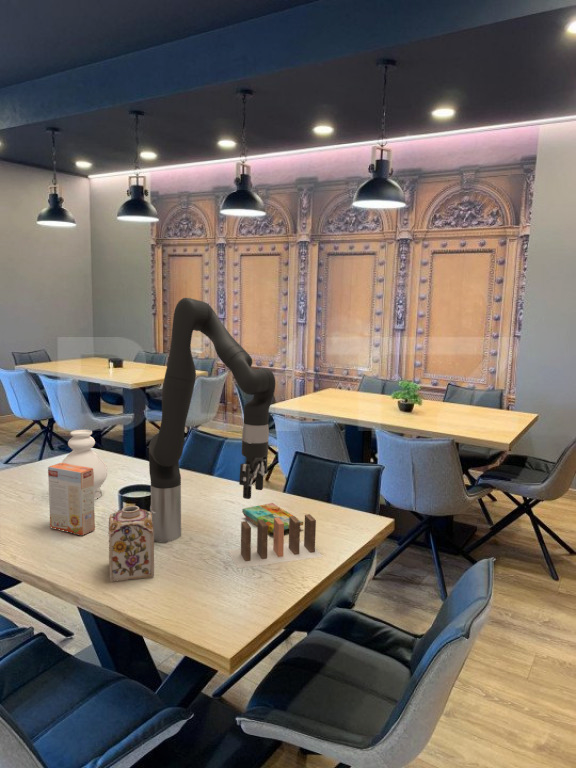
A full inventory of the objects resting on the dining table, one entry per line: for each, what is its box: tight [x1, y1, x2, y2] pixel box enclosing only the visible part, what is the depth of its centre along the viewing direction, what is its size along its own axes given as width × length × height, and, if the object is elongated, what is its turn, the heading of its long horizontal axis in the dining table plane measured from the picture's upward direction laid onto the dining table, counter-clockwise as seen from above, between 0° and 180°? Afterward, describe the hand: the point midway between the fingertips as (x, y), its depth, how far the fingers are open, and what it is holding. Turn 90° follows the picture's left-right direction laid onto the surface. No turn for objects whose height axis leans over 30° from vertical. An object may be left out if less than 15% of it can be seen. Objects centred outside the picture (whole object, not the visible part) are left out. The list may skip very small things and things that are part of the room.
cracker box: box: [47, 462, 96, 536], centre depth 181 cm, size 14×6×21 cm, turn 65°
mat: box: [227, 540, 324, 569], centre depth 167 cm, size 26×12×1 cm, turn 109°
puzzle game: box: [241, 502, 304, 534], centre depth 189 cm, size 12×5×20 cm
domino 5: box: [303, 513, 317, 553], centre depth 170 cm, size 2×5×10 cm, turn 19°
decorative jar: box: [108, 505, 155, 582], centre depth 154 cm, size 12×12×18 cm
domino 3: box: [272, 518, 285, 557], centre depth 167 cm, size 2×5×10 cm, turn 19°
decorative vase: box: [61, 429, 109, 501], centre depth 210 cm, size 18×18×25 cm
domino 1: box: [240, 520, 252, 561], centre depth 164 cm, size 2×5×10 cm, turn 19°
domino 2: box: [256, 519, 269, 559], centre depth 165 cm, size 2×5×10 cm, turn 19°
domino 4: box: [288, 515, 301, 555], centre depth 169 cm, size 2×5×10 cm, turn 19°
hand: (253, 493), depth 162 cm, fingers open, 8 cm apart
